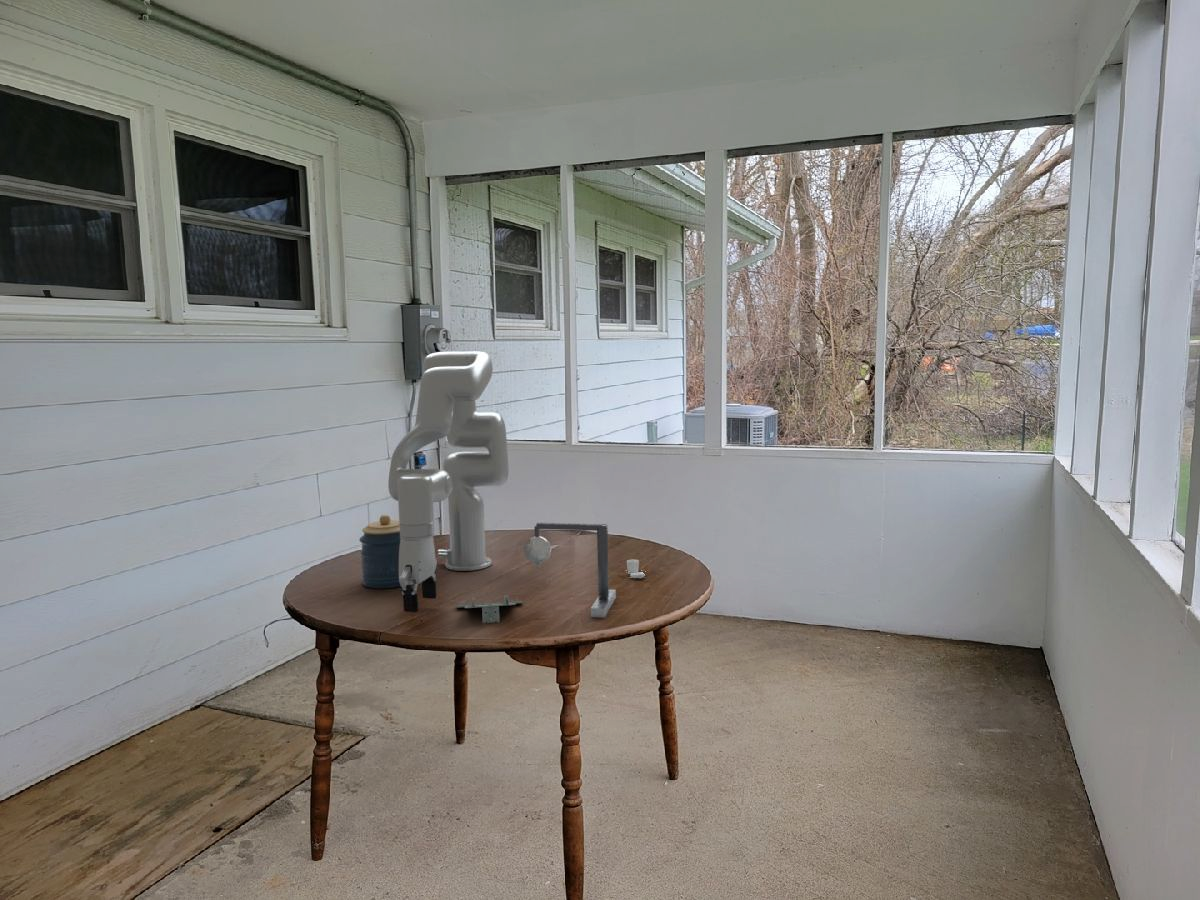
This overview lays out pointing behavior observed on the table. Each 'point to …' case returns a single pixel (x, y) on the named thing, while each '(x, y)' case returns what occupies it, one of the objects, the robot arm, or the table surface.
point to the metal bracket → (490, 609)
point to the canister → (381, 553)
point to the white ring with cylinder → (634, 569)
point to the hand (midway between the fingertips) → (420, 604)
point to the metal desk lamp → (540, 550)
